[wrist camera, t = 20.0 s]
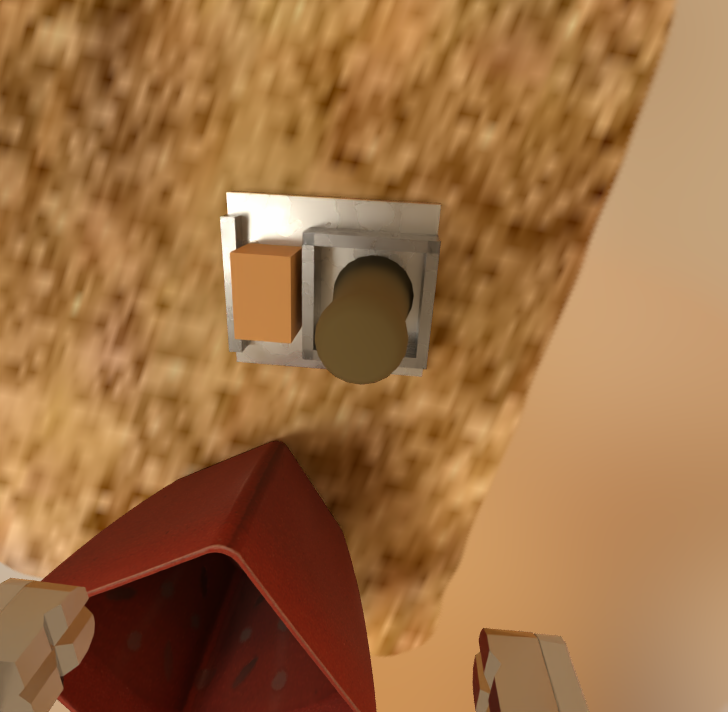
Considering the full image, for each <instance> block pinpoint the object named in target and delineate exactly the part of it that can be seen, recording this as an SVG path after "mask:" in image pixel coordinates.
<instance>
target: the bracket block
mask: <svg viewBox="0 0 728 712" xmlns="http://www.w3.org/2000/svg"><path fill="white" fill-rule="evenodd" d="M230 267H231V284H232V301H233V318H234V336H235V339H241V340H253V341H265V342H277V343H289V344H291V343H292V341H293V340H294V338H295V337H296V335H297V334H298V332H299V330H300V329H301V327H302V247H298V246H284V245H270V244H256V243H248V244H246V245H244V246H242V247H240V248H238V249H236V250H234V251H232V252H230Z"/></svg>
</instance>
